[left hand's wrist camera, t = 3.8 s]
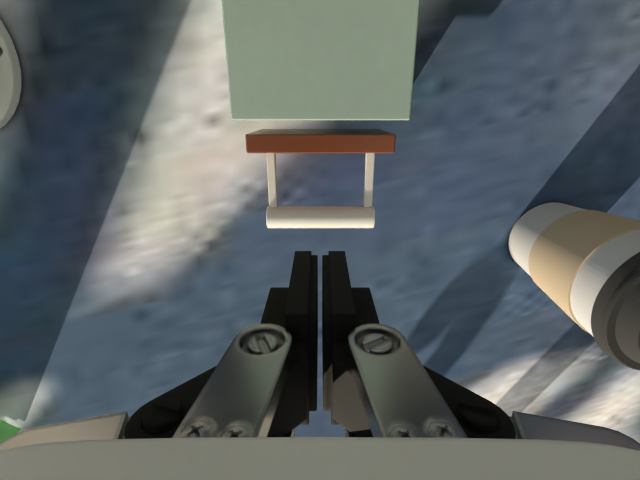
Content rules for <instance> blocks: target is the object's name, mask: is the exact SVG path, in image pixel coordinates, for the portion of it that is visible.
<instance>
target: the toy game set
mask: <svg viewBox="0 0 640 480" xmlns="http://www.w3.org/2000/svg"><path fill="white" fill-rule="evenodd" d="M20 430H21V429H20V428H17V427H15V426H12V425H10V424H8V423H5V422H3V421H1V420H0V444H1V443H2V442H3V441H5V440H6V439H8V438H10V437H12V436H14V435H15V434H17V433H18V432H19V431H20Z"/></svg>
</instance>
